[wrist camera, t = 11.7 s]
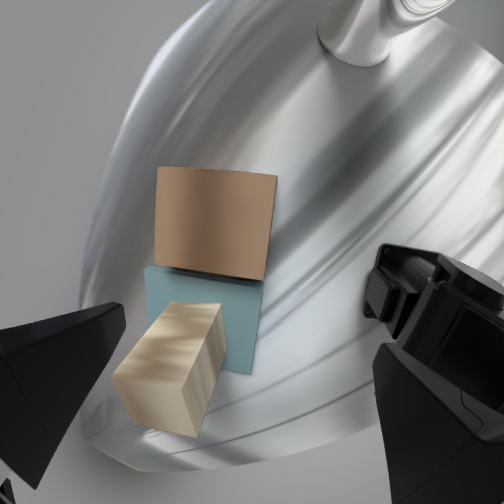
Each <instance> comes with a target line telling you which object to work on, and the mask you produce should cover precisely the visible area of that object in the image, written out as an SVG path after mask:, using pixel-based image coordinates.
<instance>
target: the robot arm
mask: <svg viewBox="0 0 504 504" xmlns="http://www.w3.org/2000/svg"><path fill="white" fill-rule="evenodd" d="M385 248H388V250H387V252H384V249H385ZM365 298H366V303H365V306H364V309H363V314H364V316H365V317H366V318H374V319H378V320H379V322H380V323H384V324H385V326H386V328H387V329H388V331H389V333H390V335H391V336H392V338H393V339H397V340H396V341H395V343H394V344H393V343H382V344H381V345H380V347H379V349H378V352H377V354H376V356H375V359H374V361H373V367H372V368H373V377H374V386H375V397H376V404H377V409H378V414H379V419H380V424H381V430H382V435H383V441H384V447H385V453H386V459H387V466H388V473H389V481H390V490H391V500H392V504H504V287H503V286H502V285H501V284H500V283H498V282H497V281H495V280H494V279H492V278H490V277H489V276H487V275H486V274H484V273H482V272H480V271H478V270H476V269H474V268H472V267H470V266H468V265H466V264H464V263H462V262H459V261H457V260H455V259H453V258H451V257H448V256H446V255H444V254H442V253H438V252H433V251H428V250H422V249H417V248H411V247H406V246H400V245H394V244H388V243H384V244H382V245H381V246H380V248H379V253H378V257H377V261H376V266H375V267H374V268H373V269H372V271H371V275H370V279H369V283H368V287H367V290H366V294H365ZM369 310H371V312H370V313H367V312H368V311H369ZM125 328H126V321H125V313H124V307H123V305H122V304H120V303H116V302H110V303H106V304H102V305H98V306H95V307H91V308H87V309H83V310H79V311H76V312H72V313H68V314H64V315H60V316H56V317H52V318H49V319H45V320H41V321H37V322H34V323H29V324H25V325H20V326H16V327H11V328H6V329H2V330H0V504H16V503H15V499H14V495H13V491H12V487H11V482H10V480H9V479H8V478H7V476H8V475H9V473H10V472H11V471H13V472H14V473H15V474H16V475H17V476H18V477H20V478H21V479H22V480H23V481H24V482H25V483H27V484H28V485H29V486H31V487H32V488H33V489H34V490H35V489H37V487H38V485H39V483H40V481H41V479H42V477H43V475H44V473H45V471H46V469H47V467H48V465H49V463H50V461H51V459H52V457H53V455H54V453H55V452H56V450H57V447H58V445H59V444H60V442H61V440H62V438H63V437H64V435H65V433H66V431H67V429H68V428H69V426H70V424H71V422H72V421H73V419H74V417H75V415H76V414H77V412H78V410H79V409H80V407H81V405H82V404H83V402H84V400H85V399H86V397H87V395H88V394H89V392H90V391H91V389H92V387H93V386H94V384H95V382H96V381H97V379H98V378H99V376H100V375H101V373H102V371H103V370H104V368H105V367H106V365H107V363H108V362H109V360H110V358H111V356H112V354H113V352H114V350H115V348H116V346H117V344H118V343H119V341H120V339H121V337H122V335H123V333H124V331H125Z"/></svg>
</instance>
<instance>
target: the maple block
mask: <svg viewBox="0 0 504 504" xmlns="http://www.w3.org/2000/svg"><path fill="white" fill-rule="evenodd" d="M226 350H227V344H226V336H225V329H224V321H223V313H222V305H221V304H220V303H179V302H170V303H169V305H168V306H167V307H166V308H165V309H164V311H163V312H162V313H161V314H160V316H159V317H158V318H157V319H156V320H155V322H154V323H153V324H152V325H151V327H150V328H149V329H148V330H147V332H146V333H145V334H144V335H143V336H142V338H141V339H140V340H139V341H138V343H137V344H136V345H135V346H134V348H133V349H132V350H131V351H130V353H129V354H128V355H127V357H126V358H125V359H124V360H123V362H122V363H121V364H120V365H119V367H118V368H117V369H116V371H115V372H114V373H113V374H112V376H111V378H112V380H113V383H114V385H115V387H116V389H117V391H118V393H119V395H120V397H121V399H122V401H123V403H124V405H125V407H126V409H127V411H128V413H129V415H130V417H131V418H132V420H133V422H134V424H136V425H140V426H143V427H147V428H152V429H156V430H160V431H165V432H170V433H175V434H180V435H186V436H191V437H198V435H199V432H200V429H201V426H202V423H203V420H204V417H205V414H206V411H207V408H208V405H209V402H210V399H211V396H212V393H213V390H214V387H215V383H216V380H217V377H218V374H219V371H220V368H221V365H222V362H223V359H224V356H225V353H226Z"/></svg>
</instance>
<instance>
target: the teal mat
mask: <svg viewBox="0 0 504 504" xmlns="http://www.w3.org/2000/svg"><path fill="white" fill-rule="evenodd" d="M144 272H145V293H146V308H147V320H148V329H149V328H150V327H151V325H152V324H153V323H154V322H155V320H156V319H157V318H158V317H159V316H160V314H161V313H162V312H163V311H164V309H165V308H166V307H167V306H168V305H169V303H170V302H179V303H220V304H221V305H222V313H223V321H224V329H225V336H226V344H227V350H226V353H225V356H224V359H223V362H222V365H221V368H220V369H224V370H230V371H236V372H242V373H248V374H251V369H252V362H253V356H254V349H255V342H256V335H257V328H258V321H259V314H260V307H261V300H262V293H263V285H264V283H258V282H251V281H244V280H237V279H231V278H224V277H218V276H211V275H205V274H198V273H192V272H186V271H180V270H174V269H168V268H162V267H157V266H151V265H149V266H148V267H147V268H145V269H144Z"/></svg>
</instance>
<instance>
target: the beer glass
mask: <svg viewBox="0 0 504 504" xmlns="http://www.w3.org/2000/svg"><path fill="white" fill-rule="evenodd" d="M455 1H456V0H329V6H328V9H327V11H326V12H325V14H324V15H323V16H322V18H321V19H320V21H319V24H318V35H319V38H320V41H321V42H322V44H323V46H324V47H325V48H326V49H327V50H328V51H329V52H330V53H331V54H332V55H333V56H335V57H336V58H338V59H339V60H341V61H343V62H346V63H348V64H351V65H355V66H361V67H368V66H374V65H377V64H379V63H381V62H382V61H384V60H385V59H386V57H387V56H388V54H389V52H390V50H391V47H392V44H393V42H394V41H395V40H396V39H397V38H398V37H399V36H401V35H402V34H404V33H406V32H408V31H410V30H412V29H413V28H415V27H417V26H419V25H421V24H423V23H425V22H427V21H428V20H430V19H432V18H433V17H435V16H437V15H438V14H440V13H441V12H443V11H444V10H445V9H446V8H448V7H449V6H450V5H451V4H453V3H454V2H455Z"/></svg>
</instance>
